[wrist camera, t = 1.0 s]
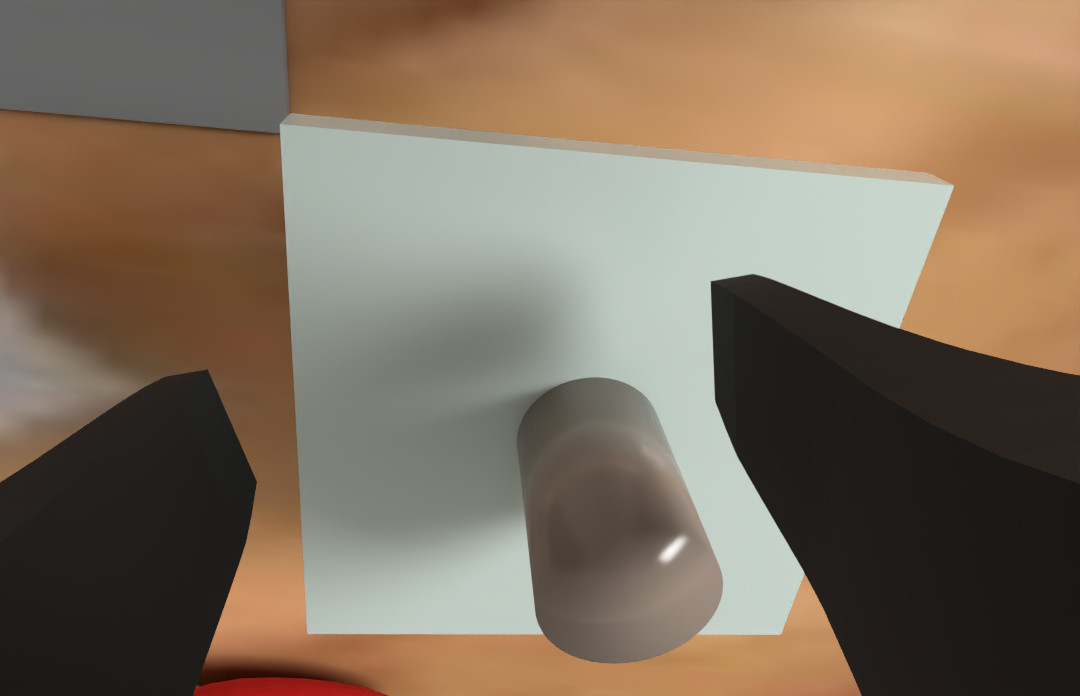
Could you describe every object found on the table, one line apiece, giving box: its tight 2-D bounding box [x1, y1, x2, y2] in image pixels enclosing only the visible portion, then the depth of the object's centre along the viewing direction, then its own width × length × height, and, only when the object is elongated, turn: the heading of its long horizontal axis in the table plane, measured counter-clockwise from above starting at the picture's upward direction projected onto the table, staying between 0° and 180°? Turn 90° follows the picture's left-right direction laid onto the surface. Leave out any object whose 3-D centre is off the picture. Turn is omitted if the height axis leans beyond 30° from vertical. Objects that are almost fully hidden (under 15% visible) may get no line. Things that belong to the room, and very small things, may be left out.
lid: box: [280, 113, 954, 664], centre depth 13 cm, size 11×11×5 cm
